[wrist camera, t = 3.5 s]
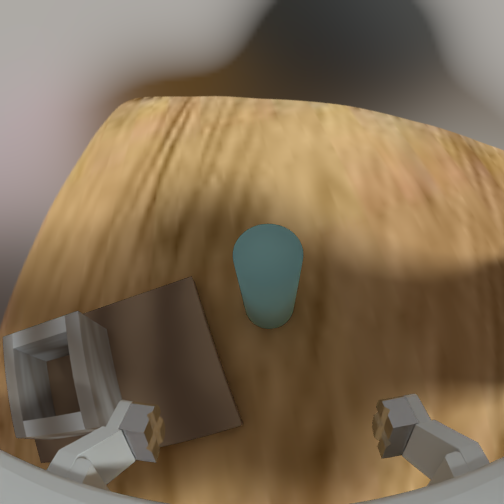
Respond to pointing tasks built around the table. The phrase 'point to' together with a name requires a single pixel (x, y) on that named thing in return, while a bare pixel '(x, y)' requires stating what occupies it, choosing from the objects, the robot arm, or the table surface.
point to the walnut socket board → (119, 370)
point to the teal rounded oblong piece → (268, 273)
